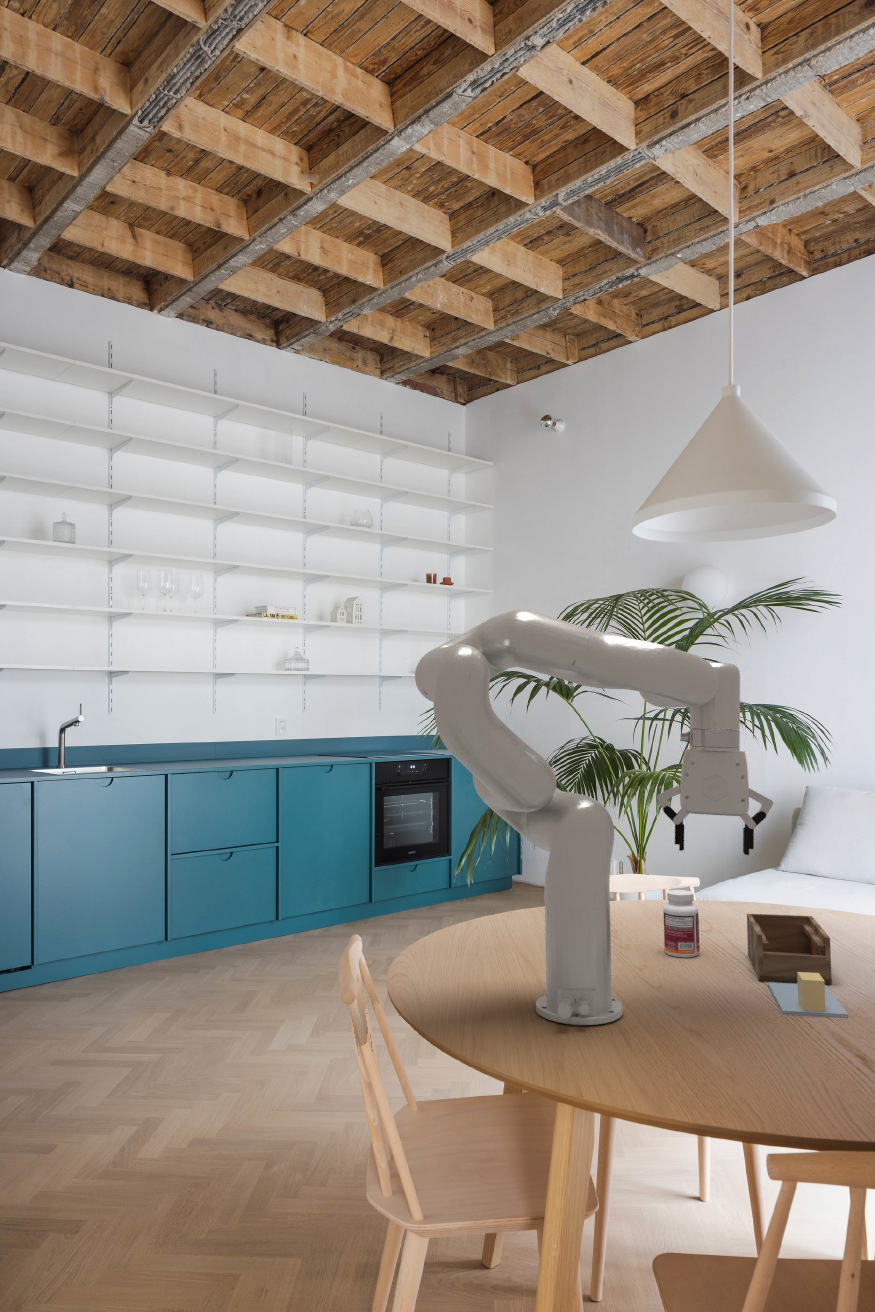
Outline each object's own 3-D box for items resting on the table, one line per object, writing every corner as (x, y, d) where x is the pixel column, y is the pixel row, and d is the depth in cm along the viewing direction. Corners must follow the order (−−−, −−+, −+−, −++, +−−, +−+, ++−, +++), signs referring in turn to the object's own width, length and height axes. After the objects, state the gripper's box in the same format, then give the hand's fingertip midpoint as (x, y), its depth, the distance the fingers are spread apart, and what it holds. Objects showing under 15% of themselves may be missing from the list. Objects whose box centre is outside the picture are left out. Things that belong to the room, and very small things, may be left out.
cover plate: (848, 1021, 129) (846, 982, 129) (783, 1017, 131) (781, 979, 131) (826, 991, 142) (825, 957, 143) (767, 989, 144) (766, 954, 145)
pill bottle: (678, 947, 168) (676, 887, 169) (706, 954, 163) (705, 892, 164) (657, 953, 164) (655, 891, 165) (686, 960, 159) (684, 897, 160)
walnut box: (831, 985, 144) (830, 938, 145) (759, 981, 147) (757, 935, 147) (813, 958, 160) (811, 916, 160) (748, 955, 162) (746, 913, 163)
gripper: (657, 739, 141) (655, 851, 139) (775, 743, 136) (774, 859, 135) (658, 739, 148) (657, 845, 147) (770, 743, 143) (770, 852, 142)
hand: (713, 851), depth 141 cm, fingers open, 9 cm apart
